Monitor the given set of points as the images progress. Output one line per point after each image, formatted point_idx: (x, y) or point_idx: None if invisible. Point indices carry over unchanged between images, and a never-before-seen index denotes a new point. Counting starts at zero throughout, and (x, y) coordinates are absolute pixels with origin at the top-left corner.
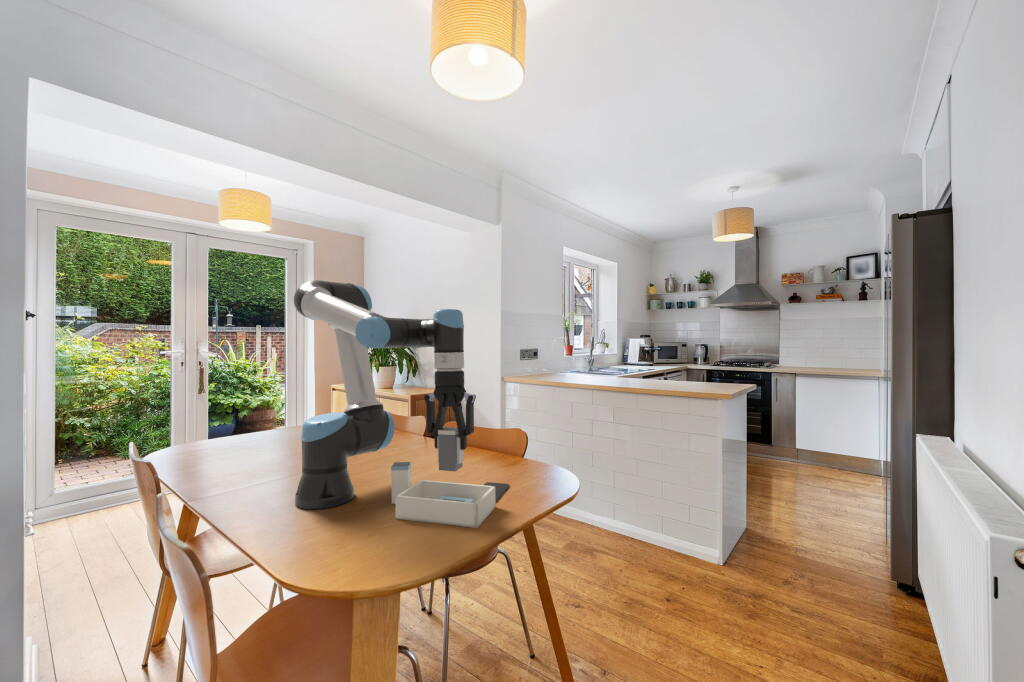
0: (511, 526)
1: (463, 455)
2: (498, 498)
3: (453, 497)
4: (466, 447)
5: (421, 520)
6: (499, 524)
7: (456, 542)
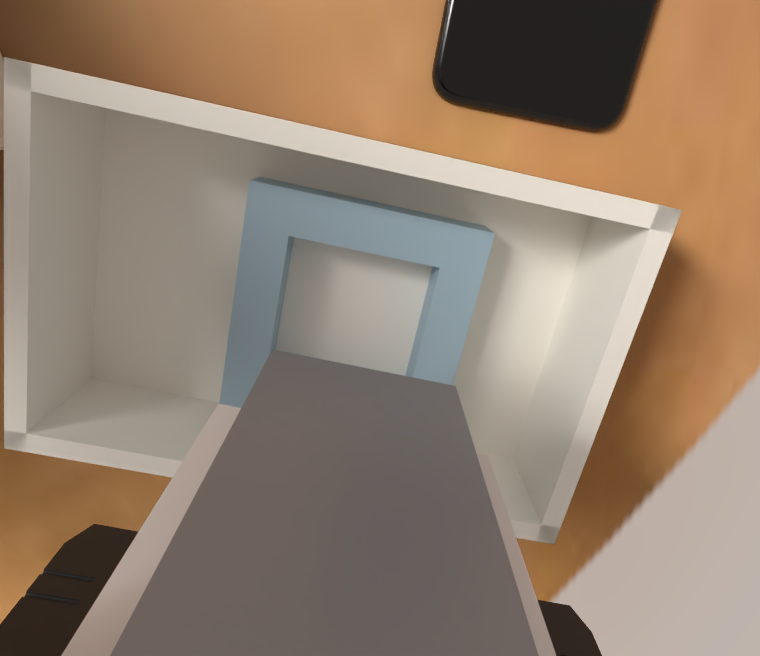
0: (683, 441)
1: (498, 499)
2: (642, 46)
3: (345, 209)
4: (580, 622)
5: None
6: (626, 423)
7: None
